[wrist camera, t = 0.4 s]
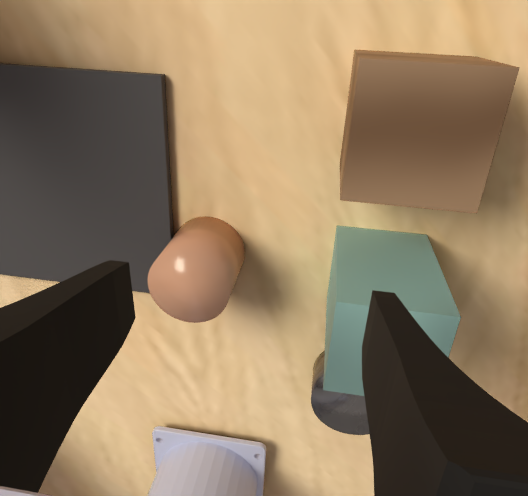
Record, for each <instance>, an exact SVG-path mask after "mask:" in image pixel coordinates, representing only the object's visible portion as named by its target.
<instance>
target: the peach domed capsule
mask: <svg viewBox="0 0 528 496" xmlns="http://www.w3.org/2000/svg"><path fill="white" fill-rule="evenodd" d="M244 258H245V248H244V244H243V241H242V239H241V237H240V236H239V234H238V233H237V231H236V230H235V229H234V228H233V227H232V226H230V225H229V224H228V223H226V222H224V221H222V220H220V219H217V218H213V217H198V218H194V219H191V220H189V221H187V222H186V223H185V224H183V225H182V226H181V228H180V229H179V230H178V232H177V233H176V234H175V235H174V237H173V238H172V239H171V241H170V242H169V243H168V245H167V246H166V247H165V249H164V250H163V251H162V253H161V254H160V255H159V256H158V258H157V259H156V260H155V262H154V263H153V264H152V266H151V268H150V270H149V273H148V288H149V291H150V294H151V296H152V298H153V300H154V301H155V303H156V304H157V305H158V306H159V307H160V308H161V309H162V310H163V311H164V312H166V313H167V314H169V315H170V316H172V317H174V318H176V319H179V320H182V321H186V322H194V323H195V322H205V321H208V320H211V319H213V318H215V317H217V316H218V315H219V314H220V313H221V312H222V311H223V310H224V309H225V307H226V305H227V303H228V300H229V298H230V295H231V293H232V290H233V287H234V285H235V282H236V280H237V277H238V275H239V272H240V270H241V267H242V264H243V262H244Z"/></svg>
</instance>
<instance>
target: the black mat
mask: <svg viewBox="0 0 528 496" xmlns="http://www.w3.org/2000/svg"><path fill="white" fill-rule="evenodd" d="M173 237H174V231H173V213H172V195H171V178H170V160H169V142H168V124H167V106H166V88H165V74H152V73H137V72H122V71H107V70H92V69H77V68H63V67H48V66H33V65H18V64H3V63H0V274H2V275H10V276H18V277H26V278H34V279H42V280H50V281H58V282H62V281H64V280H66V279H68V278H70V277H73V276H75V275H77V274H79V273H81V272H83V271H85V270H87V269H89V268H92V267H94V266H96V265H98V264H101V263H103V262H106V261H109V260H113V261H122V262H129V267H130V276H131V284H132V291H138V292H146V293H150V291H149V288H148V273H149V270H150V268H151V266H152V264H153V263H154V262H155V260H156V259H157V258H158V256H159V255H160V254H161V253H162V251H163V250H164V249H165V247H166V246H167V245H168V243H169V242H170V241H171V239H172V238H173Z"/></svg>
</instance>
